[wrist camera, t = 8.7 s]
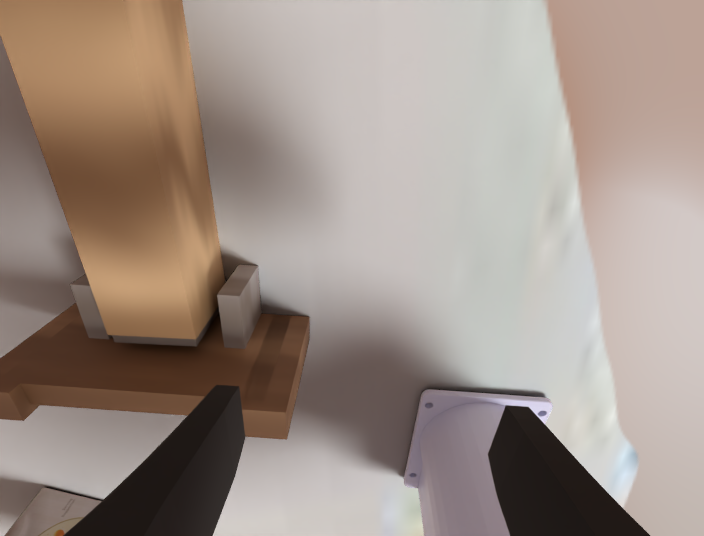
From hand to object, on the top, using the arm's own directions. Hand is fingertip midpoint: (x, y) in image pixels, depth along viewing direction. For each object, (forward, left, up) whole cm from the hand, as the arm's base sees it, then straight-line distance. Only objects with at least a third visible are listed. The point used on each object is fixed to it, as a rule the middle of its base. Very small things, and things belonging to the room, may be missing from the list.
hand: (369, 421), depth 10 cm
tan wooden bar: (+5, +10, -10) cm, 14 cm away
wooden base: (-3, +10, -9) cm, 14 cm away
